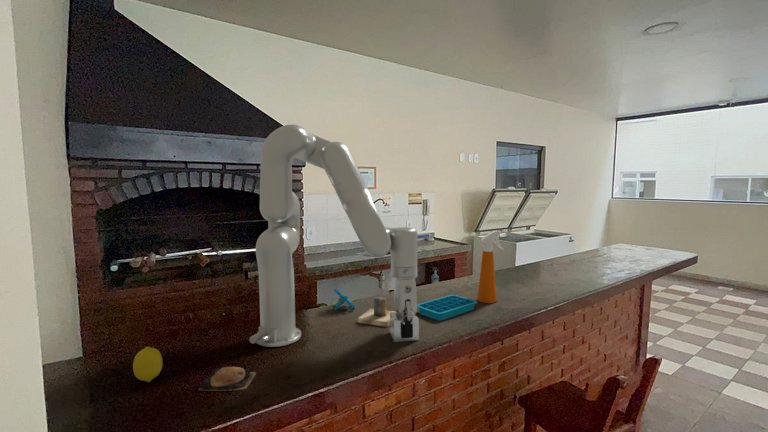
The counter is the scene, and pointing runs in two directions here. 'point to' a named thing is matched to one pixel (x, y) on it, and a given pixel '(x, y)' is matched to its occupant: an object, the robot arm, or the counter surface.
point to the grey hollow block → (396, 327)
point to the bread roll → (228, 379)
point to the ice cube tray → (446, 307)
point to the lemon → (147, 364)
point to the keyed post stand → (377, 314)
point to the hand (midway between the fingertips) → (404, 331)
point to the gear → (342, 300)
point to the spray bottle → (488, 269)
